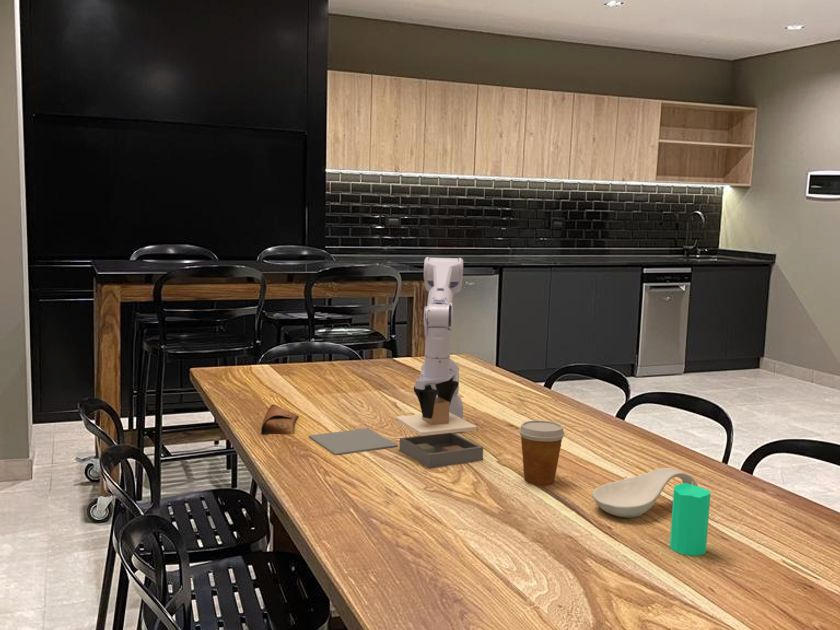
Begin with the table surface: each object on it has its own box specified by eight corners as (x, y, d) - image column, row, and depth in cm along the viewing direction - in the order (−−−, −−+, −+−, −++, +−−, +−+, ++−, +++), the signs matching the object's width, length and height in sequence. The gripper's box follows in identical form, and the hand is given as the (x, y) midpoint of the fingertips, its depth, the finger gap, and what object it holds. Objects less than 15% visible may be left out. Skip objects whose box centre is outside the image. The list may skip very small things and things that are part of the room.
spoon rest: (619, 528, 152) (621, 490, 151) (579, 507, 162) (581, 471, 161) (714, 510, 162) (716, 474, 161) (670, 490, 173) (673, 457, 172)
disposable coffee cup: (565, 477, 179) (568, 422, 177) (557, 491, 170) (560, 434, 168) (521, 471, 182) (524, 417, 180) (512, 484, 173) (514, 428, 171)
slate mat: (367, 429, 211) (367, 428, 211) (397, 446, 197) (397, 445, 197) (308, 437, 203) (308, 435, 203) (335, 455, 189) (335, 453, 189)
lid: (448, 414, 200) (449, 391, 200) (476, 430, 188) (477, 404, 187) (395, 420, 194) (395, 395, 194) (420, 436, 182) (421, 410, 181)
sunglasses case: (296, 434, 205) (282, 411, 204) (271, 448, 205) (257, 426, 204) (299, 415, 223) (286, 394, 222) (276, 428, 223) (263, 407, 221)
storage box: (450, 443, 201) (451, 431, 201) (482, 459, 189) (483, 447, 188) (399, 450, 194) (399, 438, 194) (429, 468, 182) (429, 454, 182)
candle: (664, 541, 146) (668, 475, 144) (697, 541, 146) (702, 475, 145) (677, 555, 140) (682, 487, 138) (712, 555, 140) (717, 487, 139)
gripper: (439, 350, 197) (437, 405, 199) (404, 358, 185) (403, 418, 187) (465, 353, 193) (463, 410, 195) (431, 362, 181) (429, 423, 183)
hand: (435, 414), depth 191 cm, fingers closed on lid, 6 cm apart
